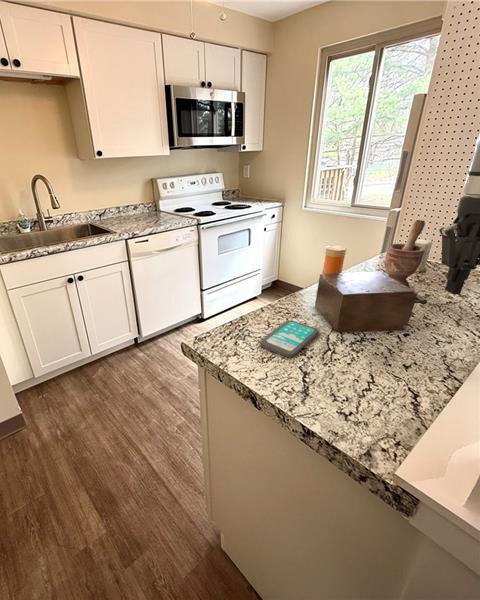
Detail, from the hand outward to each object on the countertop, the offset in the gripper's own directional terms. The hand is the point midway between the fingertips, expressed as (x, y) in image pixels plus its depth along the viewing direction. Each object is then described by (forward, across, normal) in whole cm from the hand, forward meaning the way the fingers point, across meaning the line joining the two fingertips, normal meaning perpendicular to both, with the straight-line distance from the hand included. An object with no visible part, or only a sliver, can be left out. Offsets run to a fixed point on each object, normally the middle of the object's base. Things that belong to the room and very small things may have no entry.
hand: (452, 291), depth 78 cm
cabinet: (+6, +22, 0) cm, 23 cm away
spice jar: (+6, +22, -16) cm, 28 cm away
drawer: (+5, +18, 0) cm, 18 cm away
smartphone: (+6, +42, +9) cm, 43 cm away
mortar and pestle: (+7, 0, -20) cm, 21 cm away
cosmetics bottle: (+7, -14, -33) cm, 36 cm away
